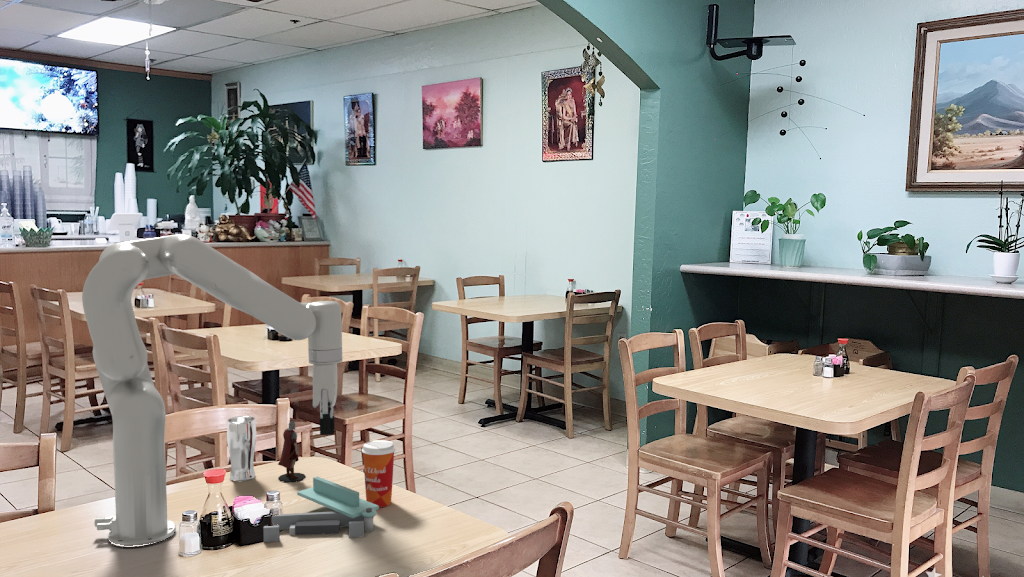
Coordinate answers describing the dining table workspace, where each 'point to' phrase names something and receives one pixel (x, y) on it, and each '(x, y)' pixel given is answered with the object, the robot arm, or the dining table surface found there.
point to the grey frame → (291, 519)
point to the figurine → (290, 455)
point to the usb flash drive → (316, 527)
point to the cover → (338, 498)
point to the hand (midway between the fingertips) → (327, 433)
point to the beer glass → (241, 447)
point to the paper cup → (378, 471)
